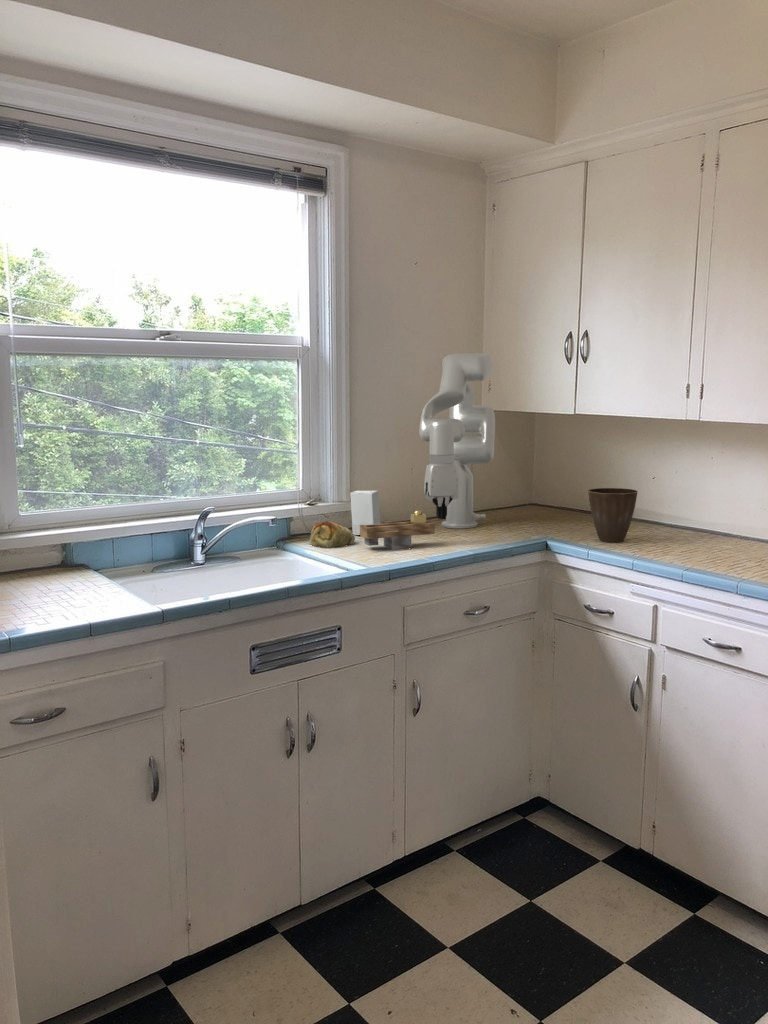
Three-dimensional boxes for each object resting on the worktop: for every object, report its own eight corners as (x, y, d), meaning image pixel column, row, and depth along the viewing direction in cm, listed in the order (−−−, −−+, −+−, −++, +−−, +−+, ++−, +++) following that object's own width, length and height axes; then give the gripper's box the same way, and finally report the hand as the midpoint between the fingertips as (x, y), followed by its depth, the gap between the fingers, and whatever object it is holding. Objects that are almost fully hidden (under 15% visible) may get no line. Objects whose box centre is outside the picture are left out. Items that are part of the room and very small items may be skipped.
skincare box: (381, 534, 273) (380, 490, 271) (373, 537, 267) (373, 492, 265) (358, 532, 276) (357, 489, 274) (350, 535, 271) (350, 491, 268)
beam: (425, 542, 258) (425, 519, 257) (435, 546, 250) (435, 523, 249) (359, 547, 250) (359, 524, 249) (368, 552, 243) (367, 528, 242)
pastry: (305, 548, 251) (305, 523, 250) (314, 541, 263) (313, 516, 262) (350, 549, 249) (350, 523, 248) (357, 541, 261) (356, 517, 260)
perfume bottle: (422, 525, 254) (422, 510, 253) (426, 527, 251) (425, 511, 250) (410, 526, 252) (410, 510, 252) (414, 528, 250) (414, 512, 249)
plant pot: (577, 541, 257) (579, 490, 255) (602, 534, 267) (603, 486, 265) (620, 547, 247) (622, 494, 244) (644, 540, 257) (646, 490, 255)
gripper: (458, 458, 257) (458, 515, 260) (414, 460, 252) (415, 518, 255) (468, 460, 250) (468, 518, 253) (424, 462, 245) (424, 522, 248)
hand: (441, 518), depth 254 cm, fingers closed
